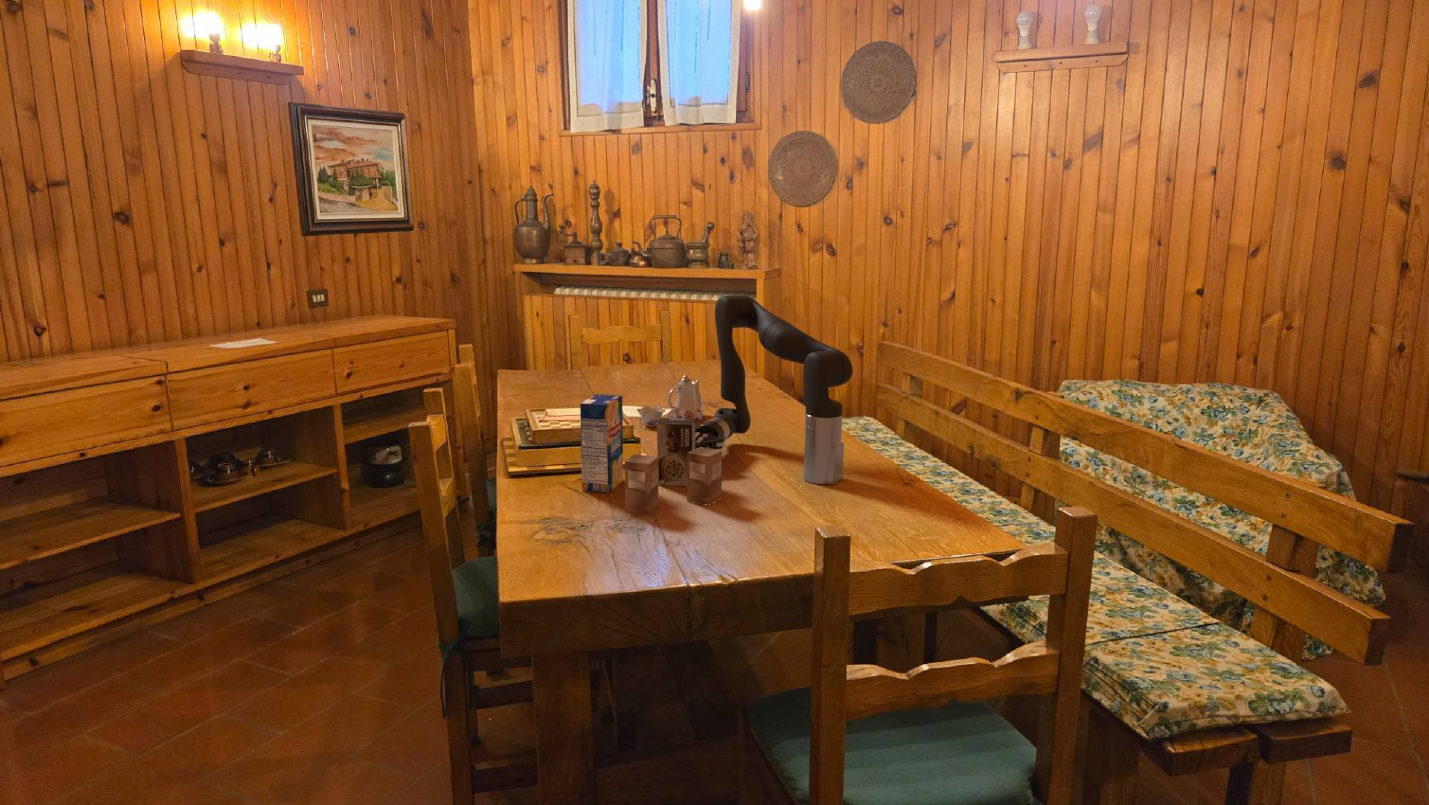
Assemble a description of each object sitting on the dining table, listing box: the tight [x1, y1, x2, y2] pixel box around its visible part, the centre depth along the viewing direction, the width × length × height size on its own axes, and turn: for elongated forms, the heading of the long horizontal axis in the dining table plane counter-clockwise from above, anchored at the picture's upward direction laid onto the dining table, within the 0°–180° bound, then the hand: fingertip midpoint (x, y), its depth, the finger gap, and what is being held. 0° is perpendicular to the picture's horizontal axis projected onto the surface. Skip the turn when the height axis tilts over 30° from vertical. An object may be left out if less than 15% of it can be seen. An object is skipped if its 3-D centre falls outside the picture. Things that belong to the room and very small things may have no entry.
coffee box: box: [656, 417, 696, 487], centre depth 234 cm, size 9×6×16 cm
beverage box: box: [579, 393, 624, 494], centre depth 231 cm, size 7×11×22 cm, turn 166°
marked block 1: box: [624, 454, 659, 515], centre depth 215 cm, size 6×6×12 cm
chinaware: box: [636, 373, 707, 428], centre depth 295 cm, size 28×17×17 cm, turn 142°
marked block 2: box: [686, 447, 723, 505], centre depth 222 cm, size 6×6×12 cm
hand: (688, 449), depth 240 cm, fingers closed
